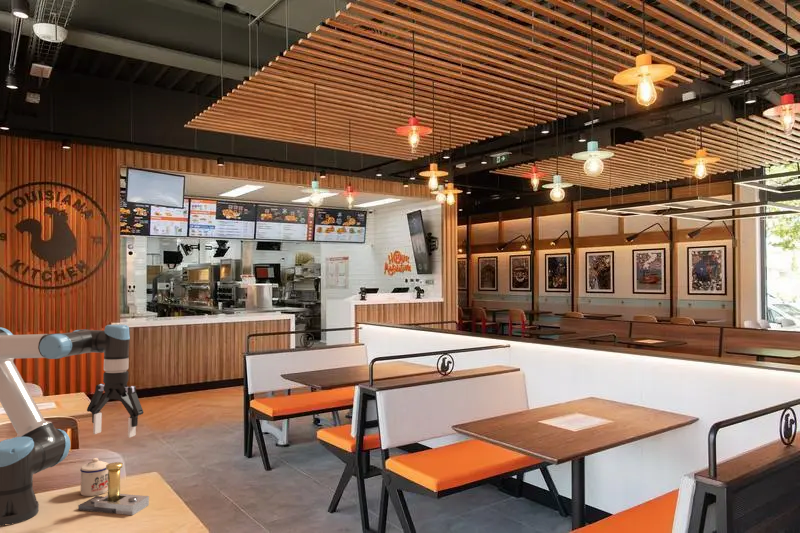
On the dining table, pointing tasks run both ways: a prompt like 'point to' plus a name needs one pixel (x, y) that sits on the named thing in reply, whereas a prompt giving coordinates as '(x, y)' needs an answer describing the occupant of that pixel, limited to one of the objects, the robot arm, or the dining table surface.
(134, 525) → the dining table surface
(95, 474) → the teacup with lid
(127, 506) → the block
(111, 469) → the brass pin
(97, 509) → the lower chain end
